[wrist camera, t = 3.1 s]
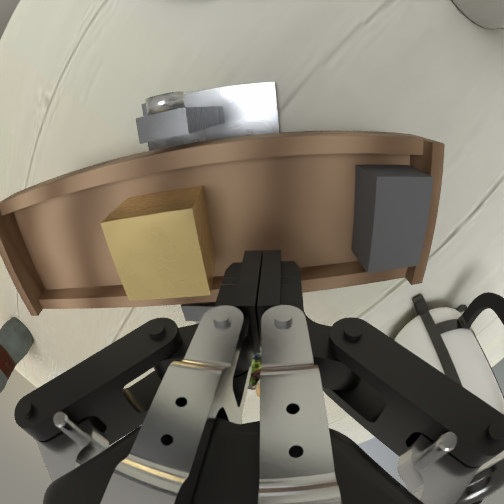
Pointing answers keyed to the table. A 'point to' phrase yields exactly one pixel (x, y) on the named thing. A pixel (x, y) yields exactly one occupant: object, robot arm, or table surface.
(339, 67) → the table surface
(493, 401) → the coffee press
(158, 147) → the pivot stand
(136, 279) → the brass block
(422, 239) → the block
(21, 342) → the bottle
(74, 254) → the beam
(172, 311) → the table surface
